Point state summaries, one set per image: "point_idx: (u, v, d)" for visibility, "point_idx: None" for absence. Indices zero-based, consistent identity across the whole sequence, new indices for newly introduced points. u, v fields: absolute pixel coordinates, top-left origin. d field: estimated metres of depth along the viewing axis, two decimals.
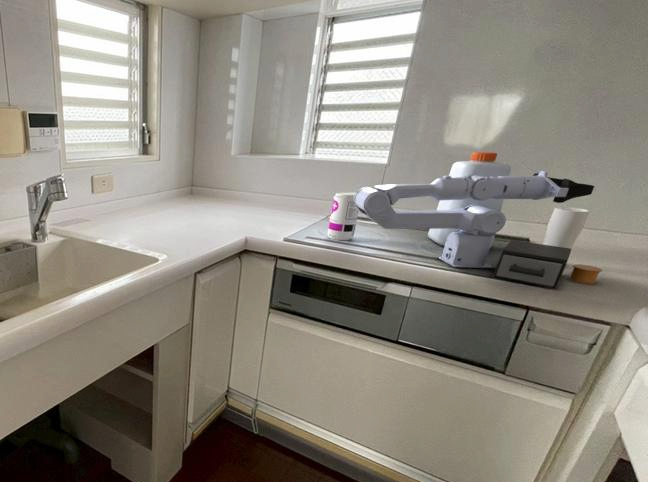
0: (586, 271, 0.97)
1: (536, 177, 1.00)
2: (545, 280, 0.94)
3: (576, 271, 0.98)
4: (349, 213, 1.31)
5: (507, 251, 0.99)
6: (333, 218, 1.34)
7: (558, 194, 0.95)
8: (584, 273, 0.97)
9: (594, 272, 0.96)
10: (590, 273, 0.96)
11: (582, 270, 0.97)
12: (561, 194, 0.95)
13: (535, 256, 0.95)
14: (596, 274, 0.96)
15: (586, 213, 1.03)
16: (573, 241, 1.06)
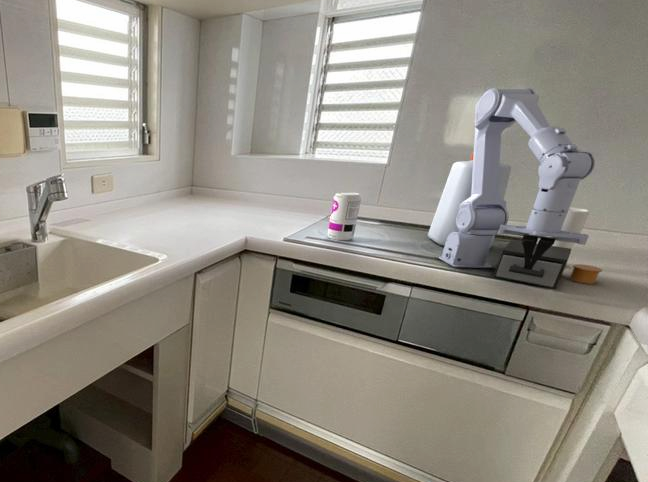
0: (586, 271, 0.97)
1: (537, 224, 0.88)
2: (545, 280, 0.93)
3: (576, 271, 0.98)
4: (349, 213, 1.31)
5: (507, 251, 0.99)
6: (333, 218, 1.34)
7: (501, 225, 0.95)
8: (584, 273, 0.97)
9: (594, 272, 0.96)
10: (590, 273, 0.96)
11: (582, 270, 0.97)
12: (500, 228, 0.95)
13: None
14: (596, 274, 0.96)
15: (586, 213, 1.03)
16: None
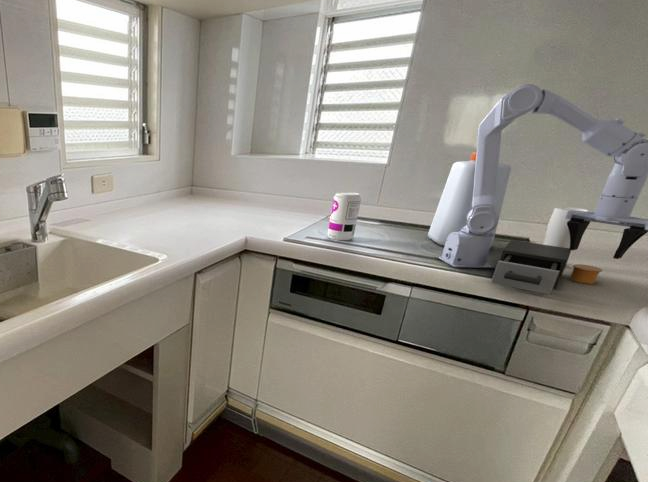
0: (586, 271, 0.97)
1: (602, 209, 0.92)
2: (542, 288, 0.89)
3: (576, 271, 0.98)
4: (349, 213, 1.31)
5: (507, 251, 0.99)
6: (333, 218, 1.34)
7: None
8: (584, 273, 0.97)
9: (594, 272, 0.96)
10: (590, 273, 0.96)
11: (582, 270, 0.97)
12: None
13: (535, 256, 0.95)
14: (596, 274, 0.96)
15: None
16: None
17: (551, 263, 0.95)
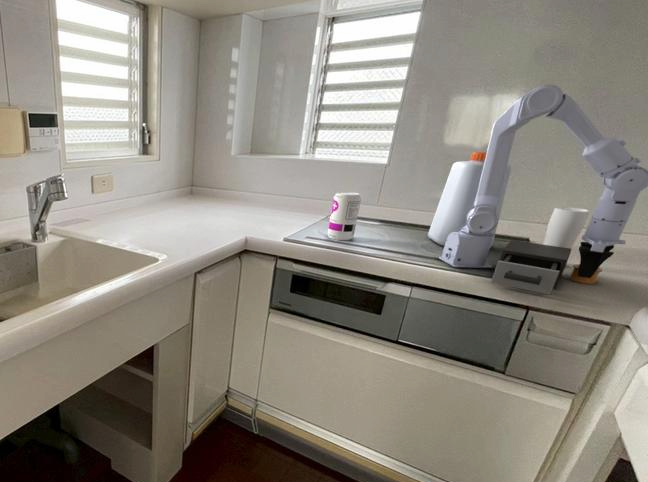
0: None
1: (620, 234, 0.92)
2: (542, 288, 0.89)
3: (576, 271, 0.98)
4: (349, 213, 1.31)
5: (507, 251, 0.99)
6: (333, 218, 1.34)
7: (597, 244, 0.91)
8: None
9: None
10: None
11: None
12: (595, 246, 0.91)
13: (535, 256, 0.95)
14: (596, 274, 0.96)
15: (586, 213, 1.03)
16: (573, 241, 1.06)
17: (551, 263, 0.95)
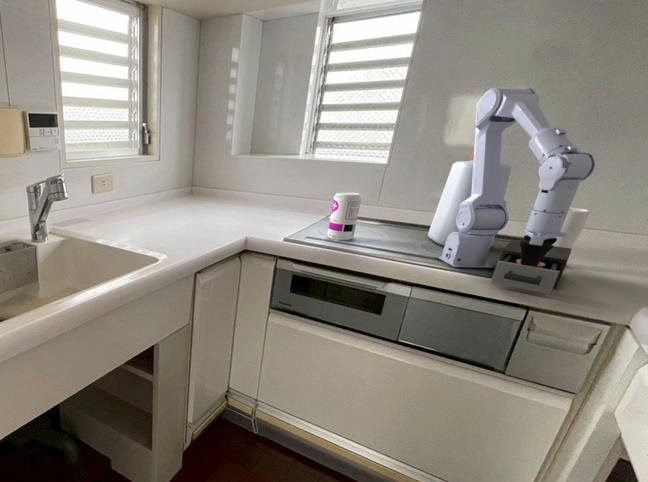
0: None
1: (560, 226, 0.87)
2: (542, 288, 0.89)
3: None
4: (349, 213, 1.31)
5: (507, 251, 0.99)
6: (333, 218, 1.34)
7: (535, 236, 0.86)
8: None
9: None
10: None
11: None
12: (534, 239, 0.86)
13: None
14: None
15: (586, 213, 1.03)
16: (573, 241, 1.06)
17: (551, 263, 0.95)
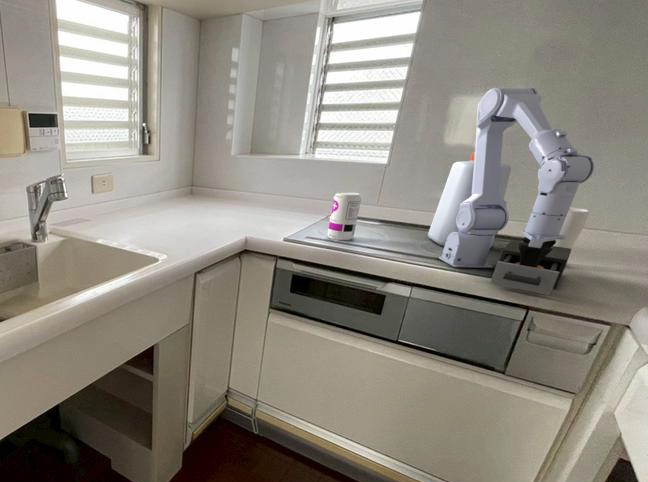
0: None
1: (559, 229, 0.87)
2: (541, 289, 0.89)
3: None
4: (349, 213, 1.31)
5: (507, 251, 0.99)
6: (333, 218, 1.34)
7: (534, 239, 0.86)
8: None
9: None
10: None
11: None
12: (533, 242, 0.86)
13: None
14: None
15: (586, 213, 1.03)
16: (573, 241, 1.06)
17: (551, 264, 0.95)
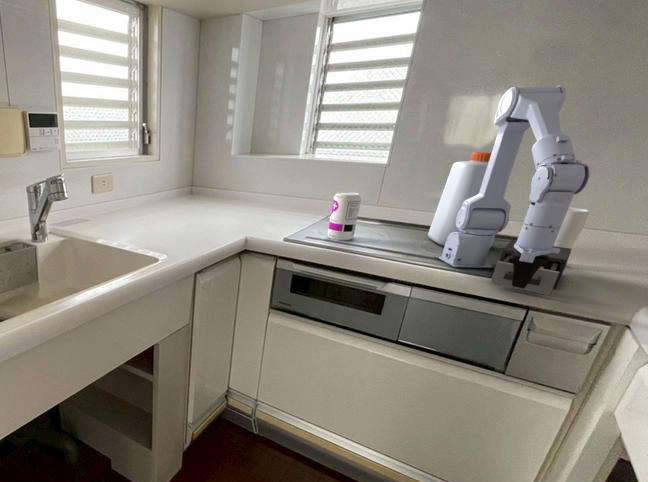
0: None
1: (553, 242, 0.81)
2: (541, 289, 0.89)
3: None
4: (349, 213, 1.31)
5: (507, 251, 0.99)
6: (333, 218, 1.34)
7: (526, 253, 0.80)
8: None
9: None
10: None
11: None
12: (525, 256, 0.80)
13: None
14: None
15: (586, 213, 1.03)
16: (573, 241, 1.06)
17: (551, 264, 0.95)
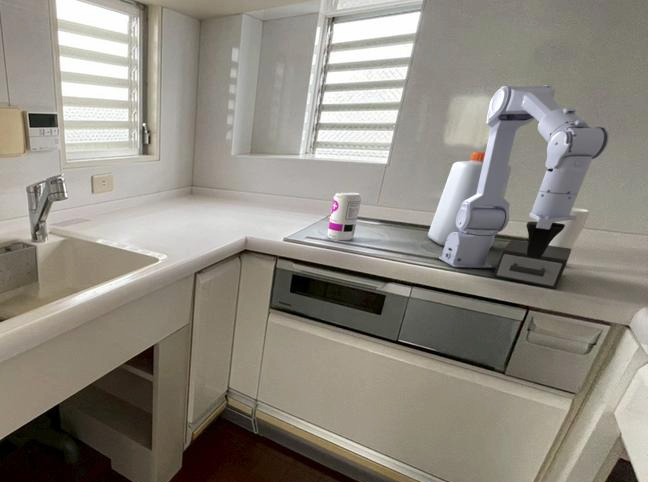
0: None
1: (570, 208, 0.80)
2: (545, 279, 0.94)
3: None
4: (349, 213, 1.31)
5: (507, 251, 0.99)
6: (333, 218, 1.34)
7: (542, 219, 0.78)
8: None
9: None
10: None
11: None
12: (541, 222, 0.79)
13: None
14: None
15: (586, 213, 1.03)
16: (573, 241, 1.06)
17: None
